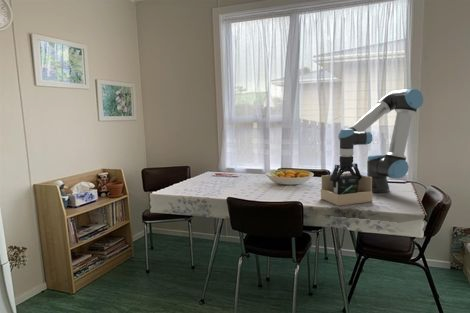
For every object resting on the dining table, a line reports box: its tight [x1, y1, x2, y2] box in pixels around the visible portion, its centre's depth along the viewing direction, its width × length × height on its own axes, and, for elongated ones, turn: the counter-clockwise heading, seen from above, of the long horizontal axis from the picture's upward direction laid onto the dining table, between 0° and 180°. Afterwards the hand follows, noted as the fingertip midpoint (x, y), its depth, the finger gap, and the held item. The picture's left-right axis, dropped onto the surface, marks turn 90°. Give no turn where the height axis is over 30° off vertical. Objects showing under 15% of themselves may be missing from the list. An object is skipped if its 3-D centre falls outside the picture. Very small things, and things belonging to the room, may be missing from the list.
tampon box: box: [336, 174, 358, 195], centre depth 194 cm, size 11×9×15 cm
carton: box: [320, 172, 373, 207], centre depth 194 cm, size 22×18×14 cm
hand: (345, 191), depth 194 cm, fingers open, 13 cm apart
